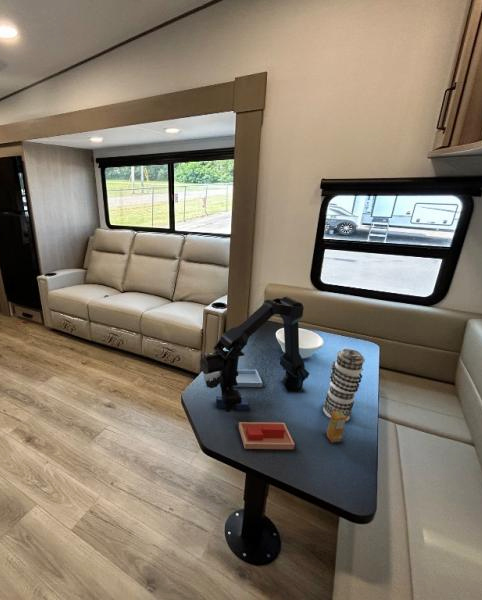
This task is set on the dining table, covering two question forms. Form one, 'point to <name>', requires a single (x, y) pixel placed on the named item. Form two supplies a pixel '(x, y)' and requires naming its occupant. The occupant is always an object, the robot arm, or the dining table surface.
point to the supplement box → (336, 426)
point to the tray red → (267, 442)
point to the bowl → (303, 342)
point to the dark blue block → (241, 406)
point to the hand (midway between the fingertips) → (225, 403)
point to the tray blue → (248, 379)
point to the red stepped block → (264, 432)
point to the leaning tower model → (344, 382)
